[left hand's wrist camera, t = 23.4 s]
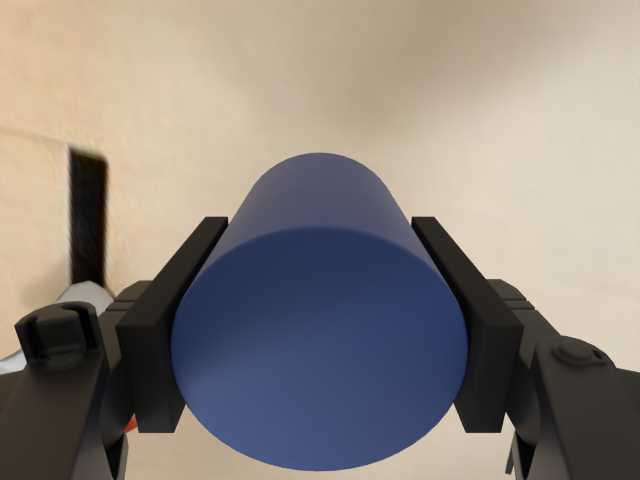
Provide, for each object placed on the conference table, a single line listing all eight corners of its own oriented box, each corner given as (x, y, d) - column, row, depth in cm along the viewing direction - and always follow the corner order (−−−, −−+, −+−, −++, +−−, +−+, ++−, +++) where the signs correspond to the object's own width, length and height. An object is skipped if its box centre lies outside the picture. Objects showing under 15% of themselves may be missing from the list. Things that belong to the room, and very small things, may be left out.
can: (305, 116, 14) (290, 155, 7) (432, 220, 16) (533, 347, 8) (209, 243, 16) (114, 384, 9) (330, 326, 17) (338, 508, 10)
